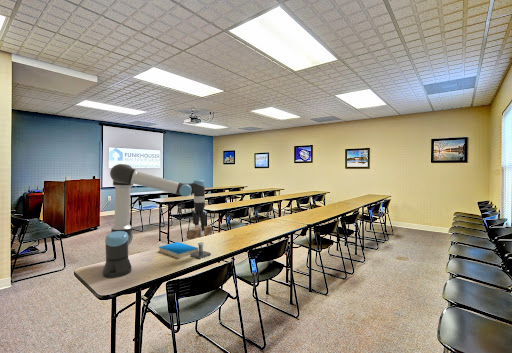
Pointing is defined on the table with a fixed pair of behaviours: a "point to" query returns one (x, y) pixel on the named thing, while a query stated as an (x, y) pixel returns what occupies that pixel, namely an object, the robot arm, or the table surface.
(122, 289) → the table surface
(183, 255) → the book
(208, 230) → the walnut beam
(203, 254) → the grey post on base
